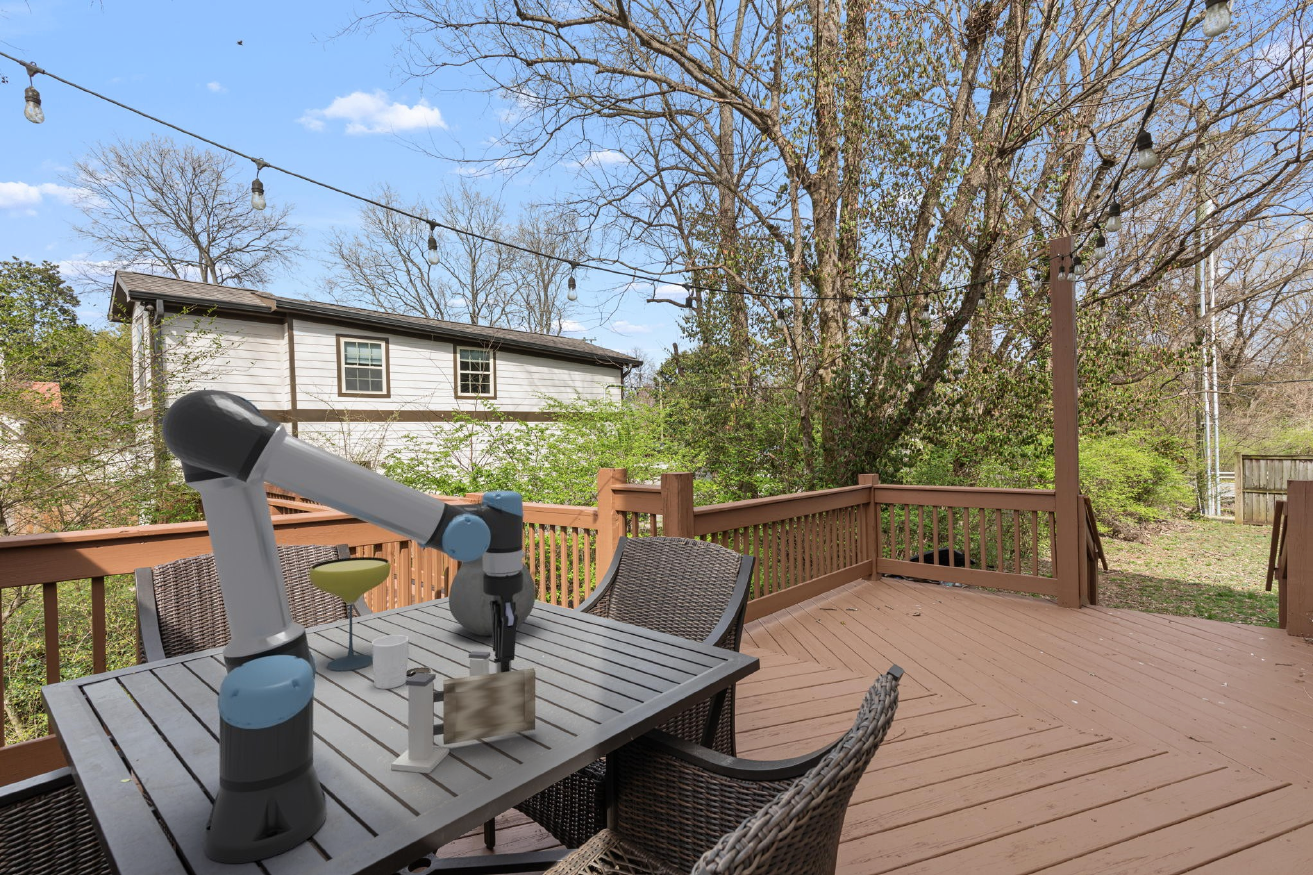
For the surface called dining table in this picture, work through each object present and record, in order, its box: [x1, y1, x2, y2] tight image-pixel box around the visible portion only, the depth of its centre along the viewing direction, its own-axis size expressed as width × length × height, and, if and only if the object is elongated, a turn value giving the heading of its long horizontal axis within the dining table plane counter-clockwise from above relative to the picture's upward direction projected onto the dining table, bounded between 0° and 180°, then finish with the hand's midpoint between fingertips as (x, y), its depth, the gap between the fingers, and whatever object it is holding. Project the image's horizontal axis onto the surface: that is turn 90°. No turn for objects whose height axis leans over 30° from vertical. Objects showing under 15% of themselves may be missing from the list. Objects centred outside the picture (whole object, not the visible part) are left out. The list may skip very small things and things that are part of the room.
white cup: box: [371, 634, 410, 690], centre depth 145 cm, size 8×8×10 cm
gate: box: [433, 667, 536, 746], centre depth 116 cm, size 20×2×11 cm, turn 111°
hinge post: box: [390, 672, 450, 774], centre depth 110 cm, size 7×7×15 cm
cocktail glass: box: [309, 556, 391, 672], centre depth 157 cm, size 18×18×25 cm
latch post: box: [468, 650, 491, 677], centre depth 134 cm, size 6×6×11 cm
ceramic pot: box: [448, 555, 536, 637], centre depth 182 cm, size 24×24×25 cm
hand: (503, 692), depth 121 cm, fingers closed
